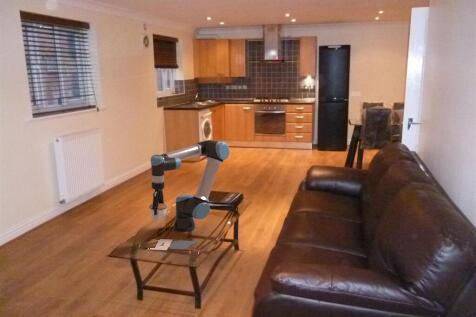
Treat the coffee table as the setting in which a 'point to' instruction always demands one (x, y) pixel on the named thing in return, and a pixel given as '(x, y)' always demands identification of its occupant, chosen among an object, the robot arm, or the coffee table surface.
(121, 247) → the coffee table surface
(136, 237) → the coffee table surface
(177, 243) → the mat
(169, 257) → the coffee table surface
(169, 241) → the card
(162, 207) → the lidded jar
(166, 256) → the coffee table surface
